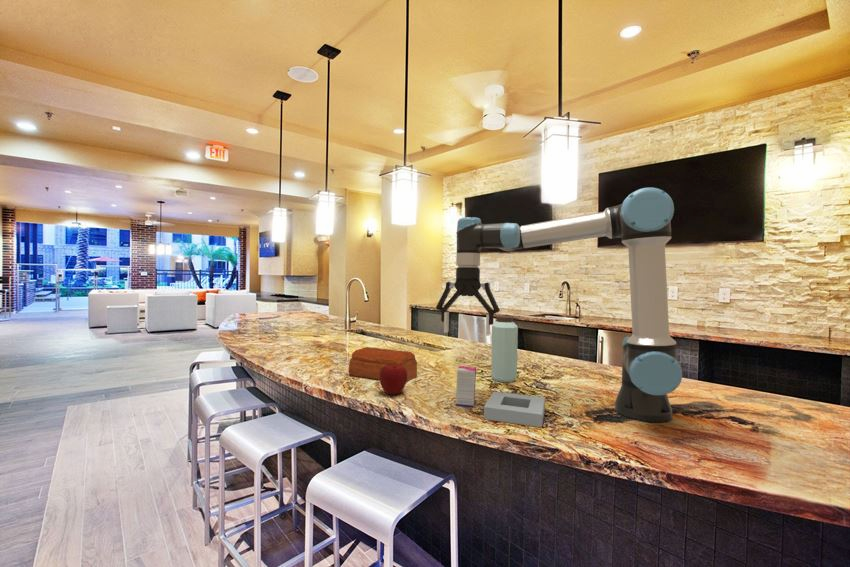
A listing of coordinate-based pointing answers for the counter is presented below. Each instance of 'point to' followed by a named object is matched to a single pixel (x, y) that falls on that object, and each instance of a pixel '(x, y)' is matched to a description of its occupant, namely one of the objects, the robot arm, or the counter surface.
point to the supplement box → (466, 386)
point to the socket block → (515, 409)
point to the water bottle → (504, 349)
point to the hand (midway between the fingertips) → (466, 333)
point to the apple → (393, 378)
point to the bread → (380, 362)
